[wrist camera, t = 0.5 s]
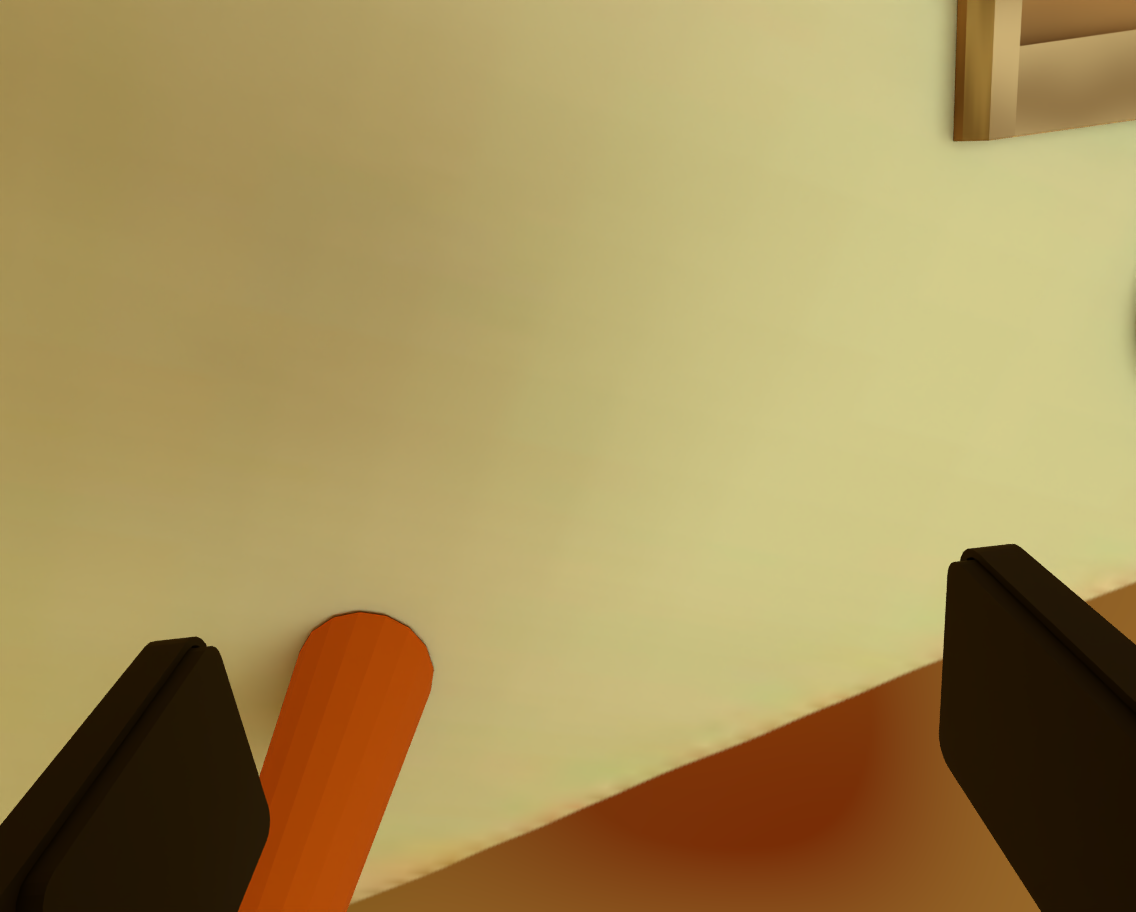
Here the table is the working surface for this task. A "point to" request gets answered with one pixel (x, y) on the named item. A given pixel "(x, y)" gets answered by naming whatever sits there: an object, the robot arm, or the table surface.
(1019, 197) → the table surface
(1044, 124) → the shallow rectangular tray
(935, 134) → the table surface
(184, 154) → the table surface
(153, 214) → the table surface
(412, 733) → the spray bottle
